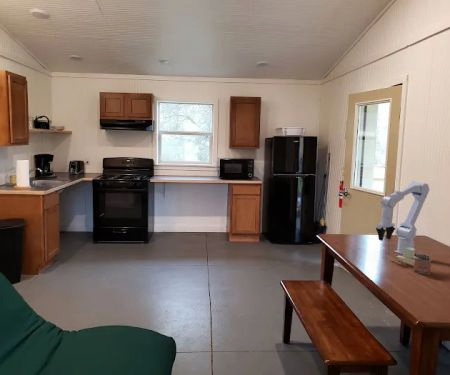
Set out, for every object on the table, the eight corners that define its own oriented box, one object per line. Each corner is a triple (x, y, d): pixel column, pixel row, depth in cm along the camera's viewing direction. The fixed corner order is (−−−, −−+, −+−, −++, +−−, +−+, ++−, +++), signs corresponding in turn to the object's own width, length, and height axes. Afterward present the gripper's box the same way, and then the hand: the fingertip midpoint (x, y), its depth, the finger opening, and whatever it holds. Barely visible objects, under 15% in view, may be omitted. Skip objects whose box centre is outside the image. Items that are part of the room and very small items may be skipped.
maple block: (405, 258, 227) (405, 253, 227) (422, 263, 219) (422, 258, 219) (395, 261, 221) (396, 256, 221) (412, 266, 213) (413, 261, 213)
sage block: (405, 255, 224) (407, 246, 223) (414, 257, 220) (415, 248, 220) (403, 256, 220) (404, 248, 220) (411, 258, 217) (412, 250, 217)
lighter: (429, 272, 202) (431, 254, 201) (430, 275, 199) (432, 256, 198) (412, 270, 205) (414, 252, 203) (413, 272, 202) (415, 253, 200)
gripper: (388, 214, 235) (385, 236, 237) (373, 216, 227) (371, 239, 228) (398, 217, 229) (396, 239, 231) (384, 218, 221) (381, 242, 223)
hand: (384, 239), depth 229 cm, fingers open, 7 cm apart
